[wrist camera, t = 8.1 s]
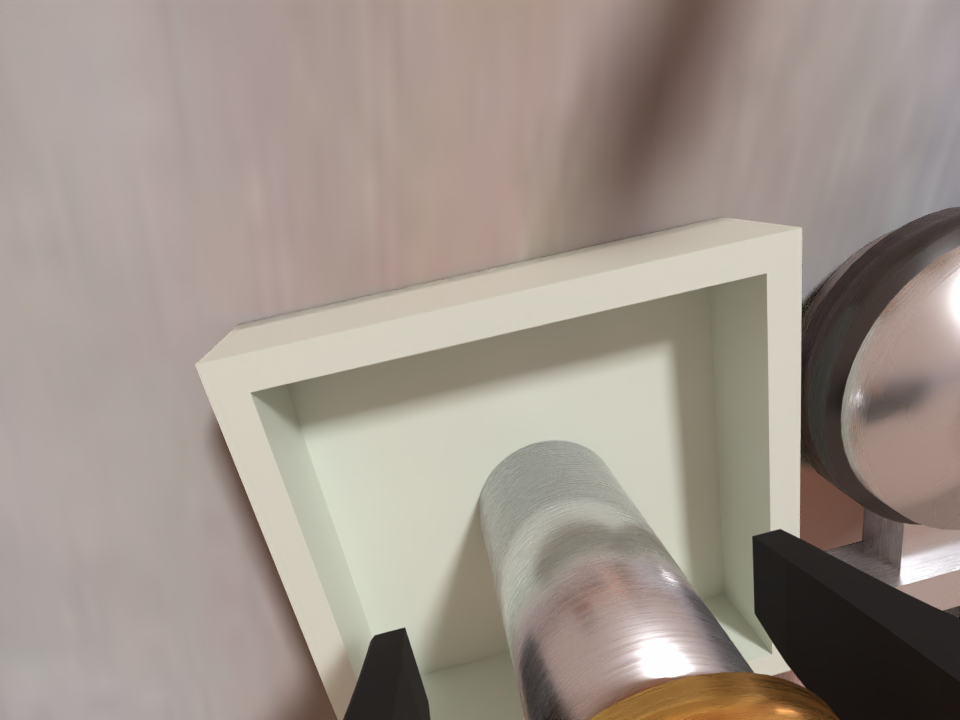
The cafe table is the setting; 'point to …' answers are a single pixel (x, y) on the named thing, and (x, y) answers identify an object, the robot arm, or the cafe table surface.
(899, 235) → the tensioner bracket
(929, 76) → the cafe table surface
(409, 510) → the parts tray
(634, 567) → the jar with gold lid
